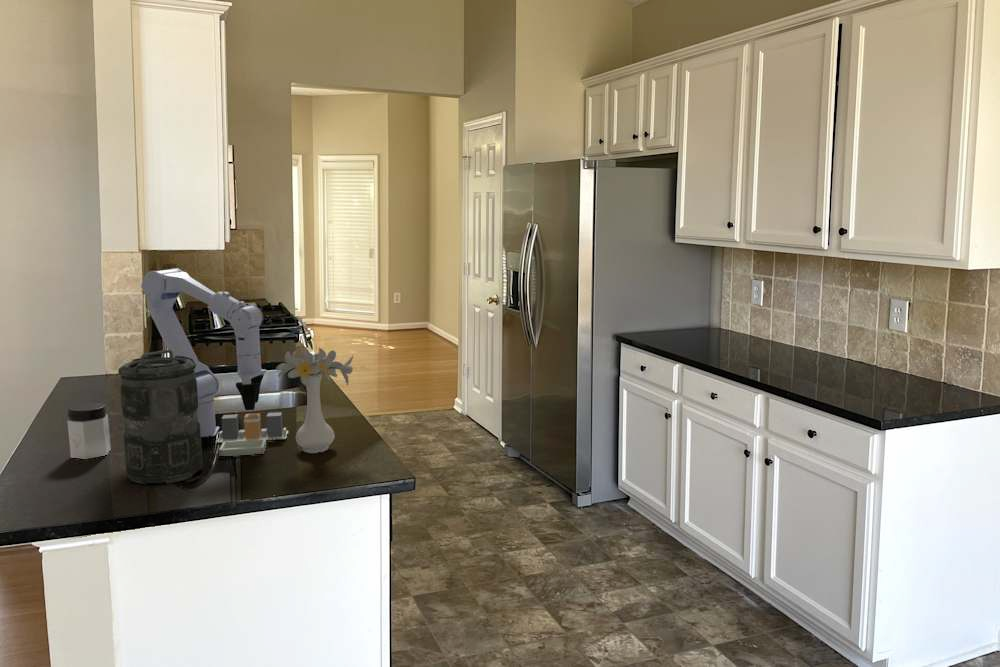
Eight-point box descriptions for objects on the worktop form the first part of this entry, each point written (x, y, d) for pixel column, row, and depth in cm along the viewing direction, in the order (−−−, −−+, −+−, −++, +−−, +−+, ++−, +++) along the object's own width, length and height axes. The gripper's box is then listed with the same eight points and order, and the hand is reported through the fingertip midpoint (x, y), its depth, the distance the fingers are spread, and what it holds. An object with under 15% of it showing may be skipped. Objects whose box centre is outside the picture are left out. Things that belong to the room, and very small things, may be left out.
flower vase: (362, 450, 199) (359, 350, 195) (286, 462, 191) (281, 357, 187) (346, 437, 211) (342, 341, 206) (274, 447, 202) (269, 348, 198)
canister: (156, 491, 172) (146, 361, 167) (111, 478, 180) (101, 353, 176) (218, 470, 185) (210, 349, 181) (173, 458, 194) (165, 342, 189)
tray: (219, 457, 195) (218, 449, 194) (224, 448, 202) (223, 441, 201) (263, 454, 196) (263, 447, 196) (266, 445, 203) (266, 439, 203)
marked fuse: (245, 438, 208) (243, 417, 207) (247, 434, 211) (245, 413, 210) (259, 437, 208) (258, 416, 207) (261, 433, 212) (260, 413, 211)
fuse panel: (216, 444, 205) (215, 420, 204) (221, 436, 212) (219, 413, 211) (286, 440, 208) (285, 417, 207) (288, 432, 215) (287, 410, 214)
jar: (62, 458, 194) (58, 409, 192) (89, 448, 202) (84, 401, 200) (92, 461, 192) (88, 412, 190) (118, 451, 199) (114, 403, 197)
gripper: (261, 358, 200) (264, 412, 202) (268, 348, 214) (270, 398, 216) (231, 359, 199) (235, 413, 201) (240, 349, 213) (243, 399, 215)
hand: (251, 406), depth 208 cm, fingers open, 7 cm apart
